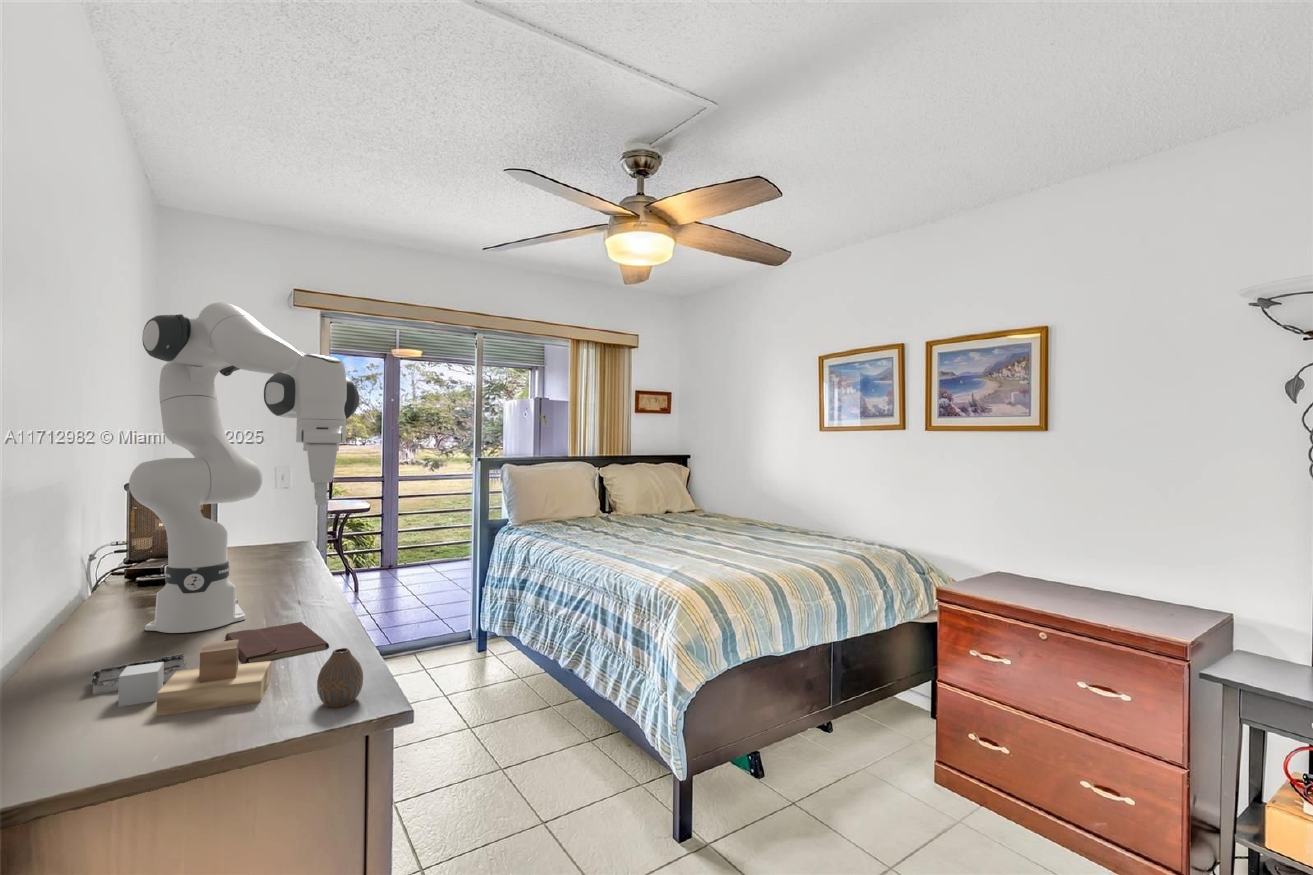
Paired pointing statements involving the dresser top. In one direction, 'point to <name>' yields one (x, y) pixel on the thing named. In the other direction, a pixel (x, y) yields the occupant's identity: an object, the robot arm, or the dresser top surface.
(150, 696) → the grey block
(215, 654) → the walnut cube
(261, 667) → the oak block
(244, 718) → the dresser top surface
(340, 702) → the vase
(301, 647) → the notebook
